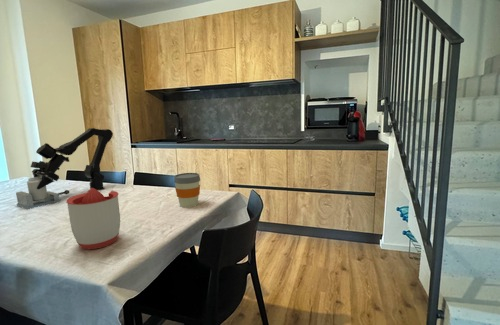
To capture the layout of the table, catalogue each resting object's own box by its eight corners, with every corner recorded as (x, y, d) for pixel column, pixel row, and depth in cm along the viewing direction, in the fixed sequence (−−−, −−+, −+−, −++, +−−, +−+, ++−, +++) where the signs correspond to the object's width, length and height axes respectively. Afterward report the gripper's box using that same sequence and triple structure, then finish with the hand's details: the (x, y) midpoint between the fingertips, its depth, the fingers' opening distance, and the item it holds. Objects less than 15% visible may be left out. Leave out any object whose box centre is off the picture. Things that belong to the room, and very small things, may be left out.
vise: (64, 194, 159) (62, 182, 157) (75, 197, 152) (73, 185, 151) (16, 205, 140) (14, 192, 139) (27, 209, 133) (24, 195, 132)
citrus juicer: (132, 230, 105) (126, 180, 101) (111, 252, 87) (103, 193, 84) (91, 231, 104) (85, 182, 101) (62, 254, 87) (53, 195, 84)
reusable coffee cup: (195, 209, 127) (193, 178, 124) (171, 208, 129) (169, 177, 127) (205, 201, 139) (203, 172, 136) (182, 200, 141) (180, 172, 139)
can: (50, 198, 144) (47, 176, 142) (34, 202, 138) (30, 180, 135) (44, 196, 148) (40, 175, 146) (27, 200, 141) (23, 178, 139)
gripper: (33, 154, 147) (11, 178, 139) (48, 156, 137) (26, 182, 130) (51, 165, 155) (32, 189, 147) (67, 168, 145) (47, 193, 138)
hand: (34, 188), depth 140 cm, fingers closed on can, 7 cm apart
